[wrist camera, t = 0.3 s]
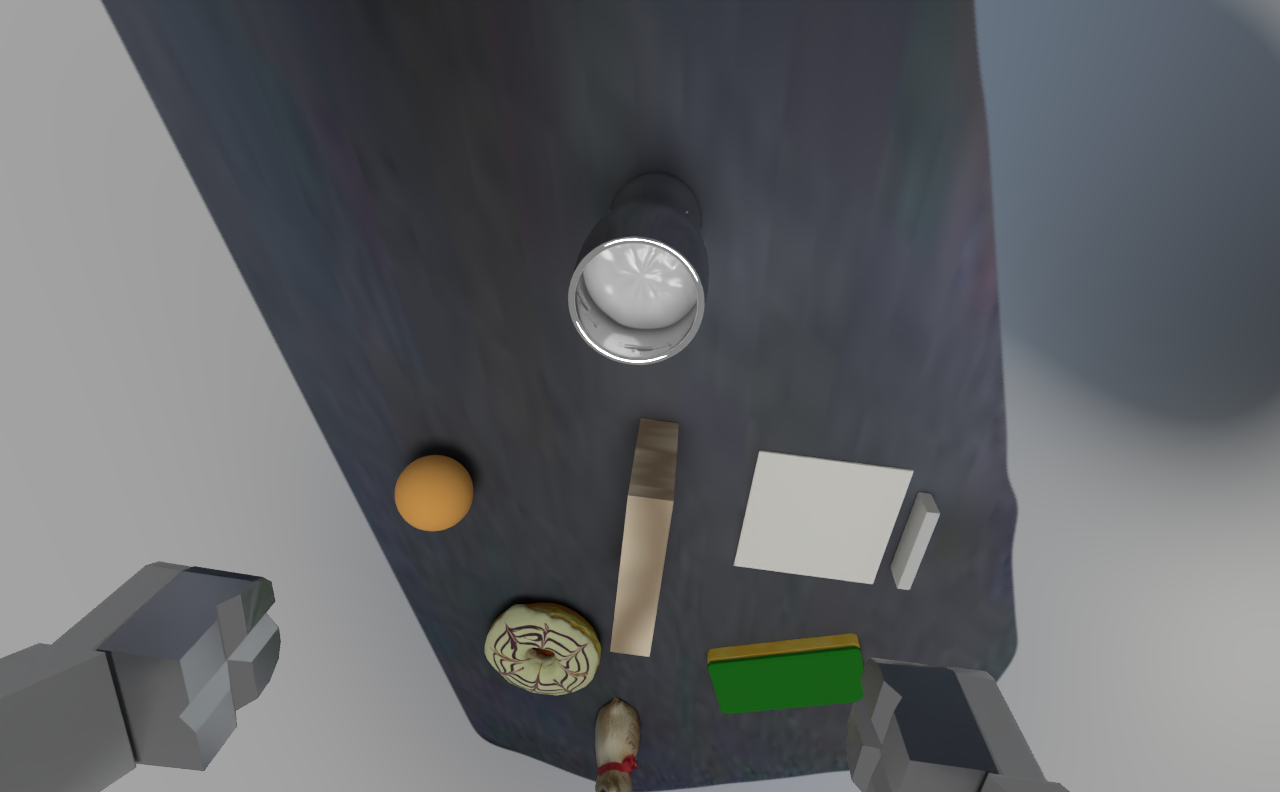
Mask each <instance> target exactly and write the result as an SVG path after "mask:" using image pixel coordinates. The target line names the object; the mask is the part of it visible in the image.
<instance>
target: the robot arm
mask: <svg viewBox="0 0 1280 792" xmlns="http://www.w3.org/2000/svg"><path fill="white" fill-rule="evenodd" d="M274 602H275V598H274V592H273V587H272V582H271V581H269V580H267V579H265V578H263V577H259V576H252V575H246V574H239V573H233V572H227V571H221V570H214V569H207V568H201V567H195V566H194V567H189V566H183V565H177V564H171V563H165V562H156V563H152V564H149V565H146V566H144V567H143V568H142V569H141V570H140V571H138V572H137V573H136V574H135V575H134V576H133V577H131V578H130V579H129V580H128V581H127V582H125V583H124V584H123V585H122V586H121V587H119V588H118V589H117V590H116V591H115V592H114V593H113V594H111V595H110V596H109V597H108V598H106V599H105V600H104V601H103V602H102V603H101V604H99V605H98V606H97V607H96V608H94V609H93V610H92V611H91V612H90V613H88V614H87V615H86V616H85V617H84V618H82V619H81V620H80V621H79V622H78V623H77V624H75V625H74V626H73V627H72V628H71V629H69V630H68V631H67V632H66V633H65V634H64V635H62V636H61V637H60V638H59V639H58V640H56V641H55V642H54V643H53V644H52V645H49V644H41V643H39V644H36V645H33V646H31V647H28V648H26V649H23V650H21V651H18V652H16V653H13V654H11V655H8V656H6V657H3V658H1V659H0V792H100V791H102V790H103V789H105V788H106V787H108V786H109V785H110V784H112V783H114V782H115V781H116V780H118V779H120V778H121V777H122V776H124V775H125V774H127V773H128V772H130V771H132V770H133V769H134V768H136V764H146V765H155V766H164V767H174V768H182V769H191V770H200V771H204V770H205V769H206V767H207V766H208V765H209V763H210V762H211V761H212V759H213V758H214V757H215V755H216V754H217V753H218V751H219V750H220V749H221V747H222V746H223V745H224V743H225V742H226V740H227V739H228V738H229V736H230V735H231V734H232V732H233V731H234V730H235V728H236V727H237V721H236V710H238V709H239V708H241V707H243V706H245V705H247V704H248V703H250V702H252V701H254V700H255V699H257V698H258V697H259V695H260V694H261V693H262V691H263V690H264V688H265V687H266V685H267V684H268V683H269V681H270V679H271V676H272V674H273V671H274V669H275V666H276V664H277V661H278V659H279V650H280V642H281V641H280V633H279V627H278V626H277V625H276V624H275V622H274V621H273V620H272V619H271V618H270V617H269V615H268V614H267V613H266V612H267V611H268V610H269V608H270V607H271V606H272V605H273V604H274ZM860 681H861V684H862V688H863V692H864V695H865V696H864V697H863V698H861V699H860V700H859V701H857V702H856V703H854V704H853V705H852V709H851V713H850V717H849V721H848V727H847V743H846V746H847V757H848V765H849V769H850V774H851V779H852V781H853V782H854V783H855V785H856V786H857V787H858V788H859V789H860V790H861V791H862V792H1069V791H1068V790H1067V789H1066V788H1065V787H1063V786H1062V785H1061V784H1060V783H1055V782H1048V781H1047V780H1046V778H1045V776H1044V774H1043V772H1042V771H1041V768H1040V767H1039V765H1038V763H1037V761H1036V759H1035V757H1034V755H1033V753H1032V751H1031V750H1030V747H1029V746H1028V744H1027V742H1026V740H1025V738H1024V736H1023V734H1022V732H1021V730H1020V728H1019V726H1018V724H1017V722H1016V720H1015V719H1014V717H1013V715H1012V713H1011V711H1010V709H1009V707H1008V705H1007V703H1006V701H1005V700H1004V697H1003V696H1002V694H1001V692H1000V690H999V688H998V686H997V684H996V682H995V680H994V678H993V677H992V676H991V675H989V674H988V673H987V672H986V671H979V670H970V669H962V668H953V667H946V668H944V667H940V666H932V665H924V664H916V663H908V662H900V661H892V660H884V659H876V658H870V659H869V661H868V662H867V663H866V665H865V667H864V670H863V673H862V676H861V679H860ZM135 763H136V764H135Z"/></svg>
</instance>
